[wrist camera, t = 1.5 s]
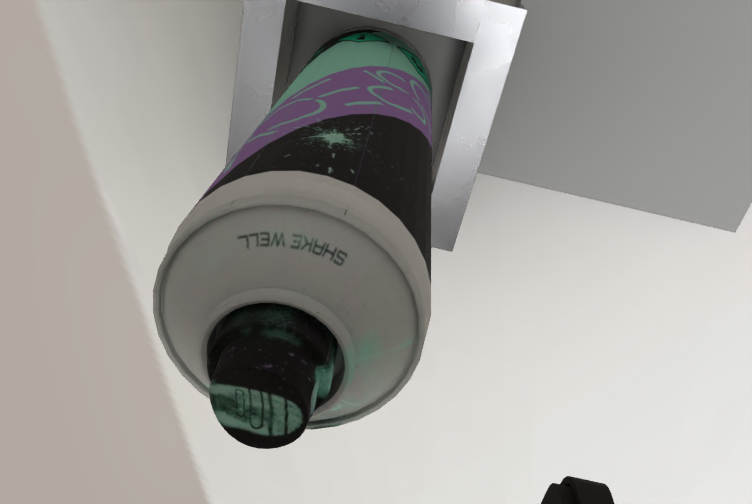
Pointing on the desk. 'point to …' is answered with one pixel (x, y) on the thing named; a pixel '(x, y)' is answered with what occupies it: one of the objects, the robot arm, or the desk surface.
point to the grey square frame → (415, 10)
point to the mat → (632, 106)
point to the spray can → (311, 250)
